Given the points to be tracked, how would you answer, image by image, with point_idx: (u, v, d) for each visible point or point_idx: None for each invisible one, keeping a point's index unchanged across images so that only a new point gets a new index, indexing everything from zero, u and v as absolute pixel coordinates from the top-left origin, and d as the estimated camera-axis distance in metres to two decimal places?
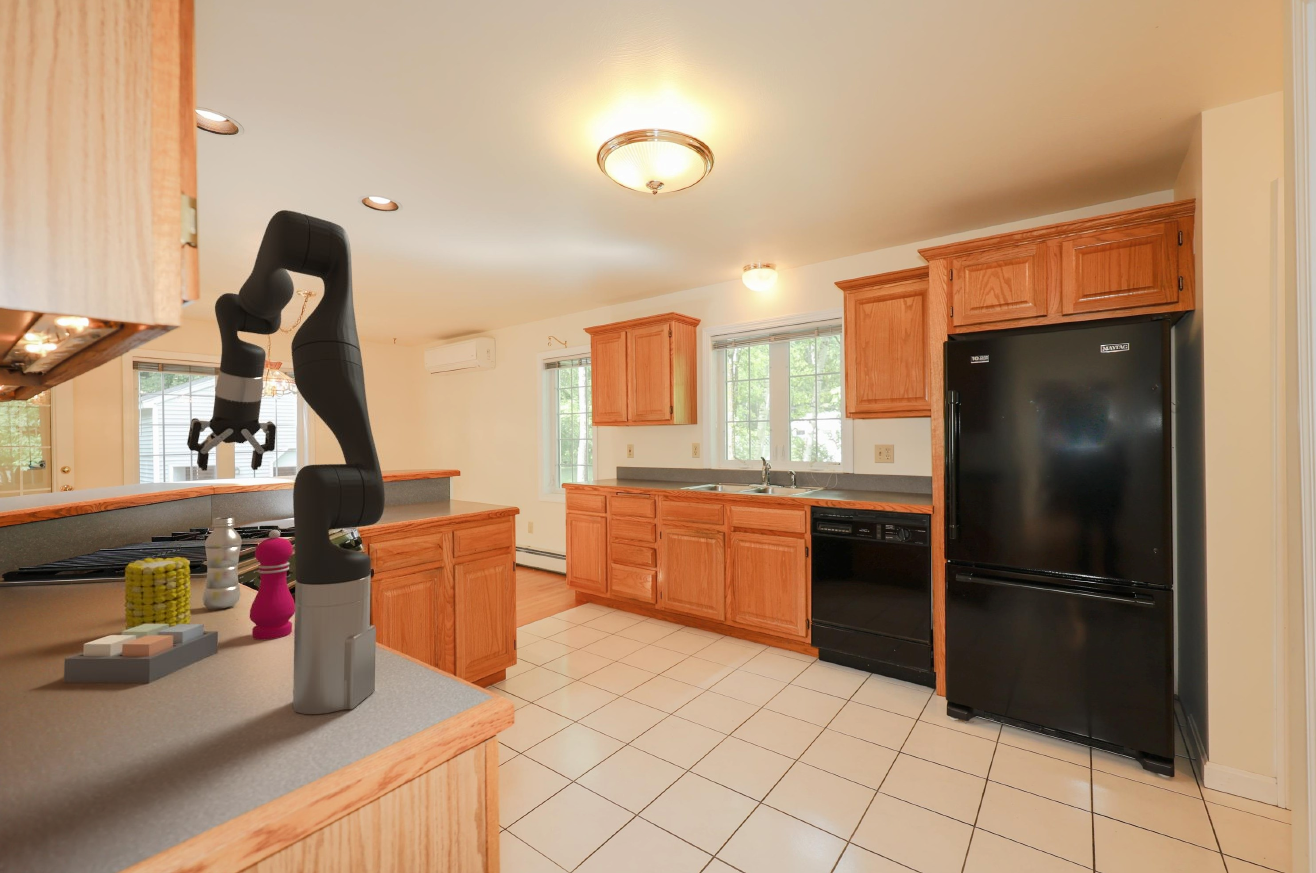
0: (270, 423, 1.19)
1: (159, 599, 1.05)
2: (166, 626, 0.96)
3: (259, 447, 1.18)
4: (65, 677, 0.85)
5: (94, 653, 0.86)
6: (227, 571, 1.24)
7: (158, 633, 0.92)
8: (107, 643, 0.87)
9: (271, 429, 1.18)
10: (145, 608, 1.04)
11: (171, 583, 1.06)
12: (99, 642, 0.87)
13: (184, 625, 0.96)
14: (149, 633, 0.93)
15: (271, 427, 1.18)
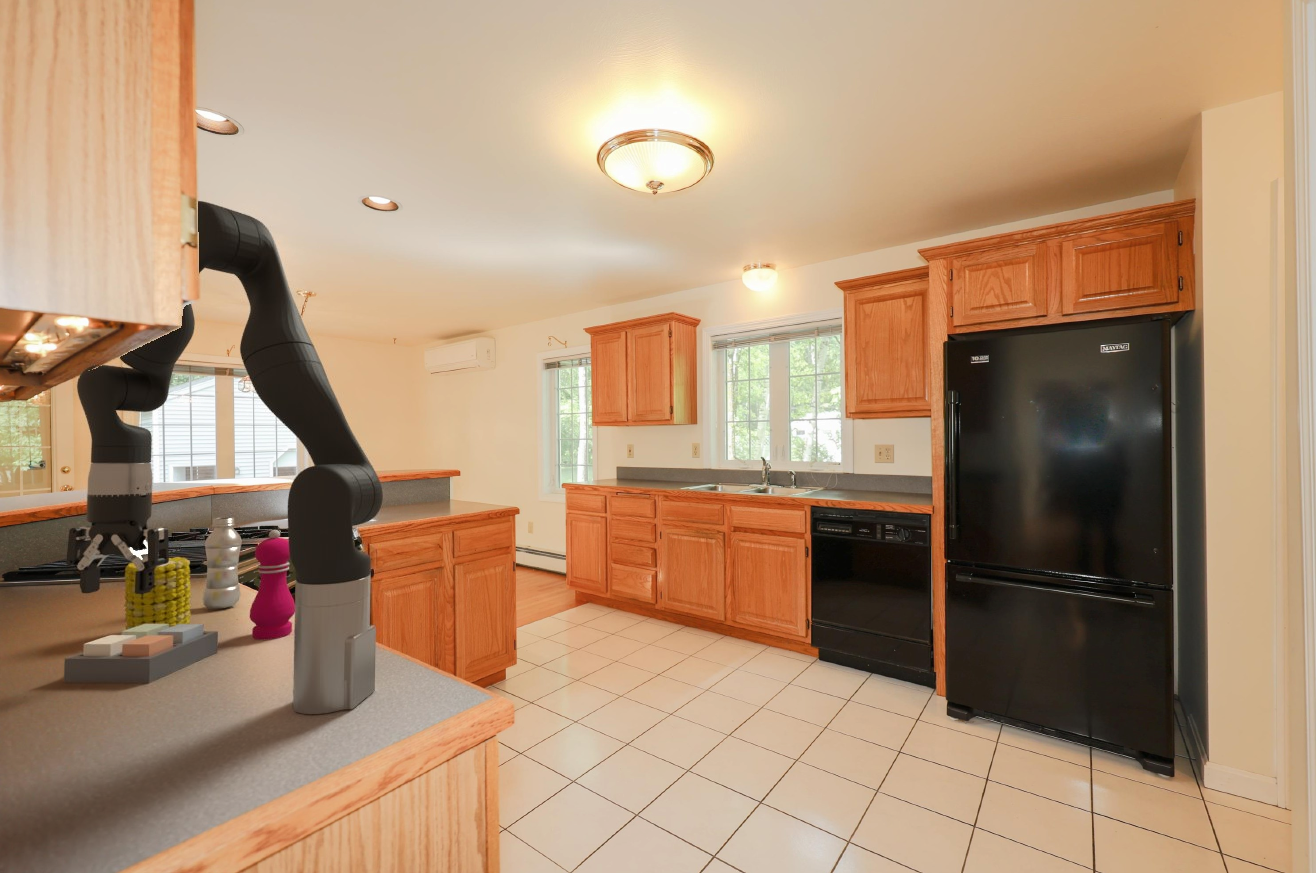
0: (155, 528, 0.90)
1: (159, 599, 1.05)
2: (166, 626, 0.96)
3: (138, 561, 0.88)
4: (65, 677, 0.85)
5: (94, 653, 0.86)
6: (227, 571, 1.24)
7: (158, 633, 0.92)
8: (107, 643, 0.87)
9: (149, 535, 0.88)
10: (145, 608, 1.04)
11: (171, 583, 1.06)
12: (99, 642, 0.87)
13: (184, 625, 0.96)
14: (149, 633, 0.93)
15: (149, 532, 0.88)
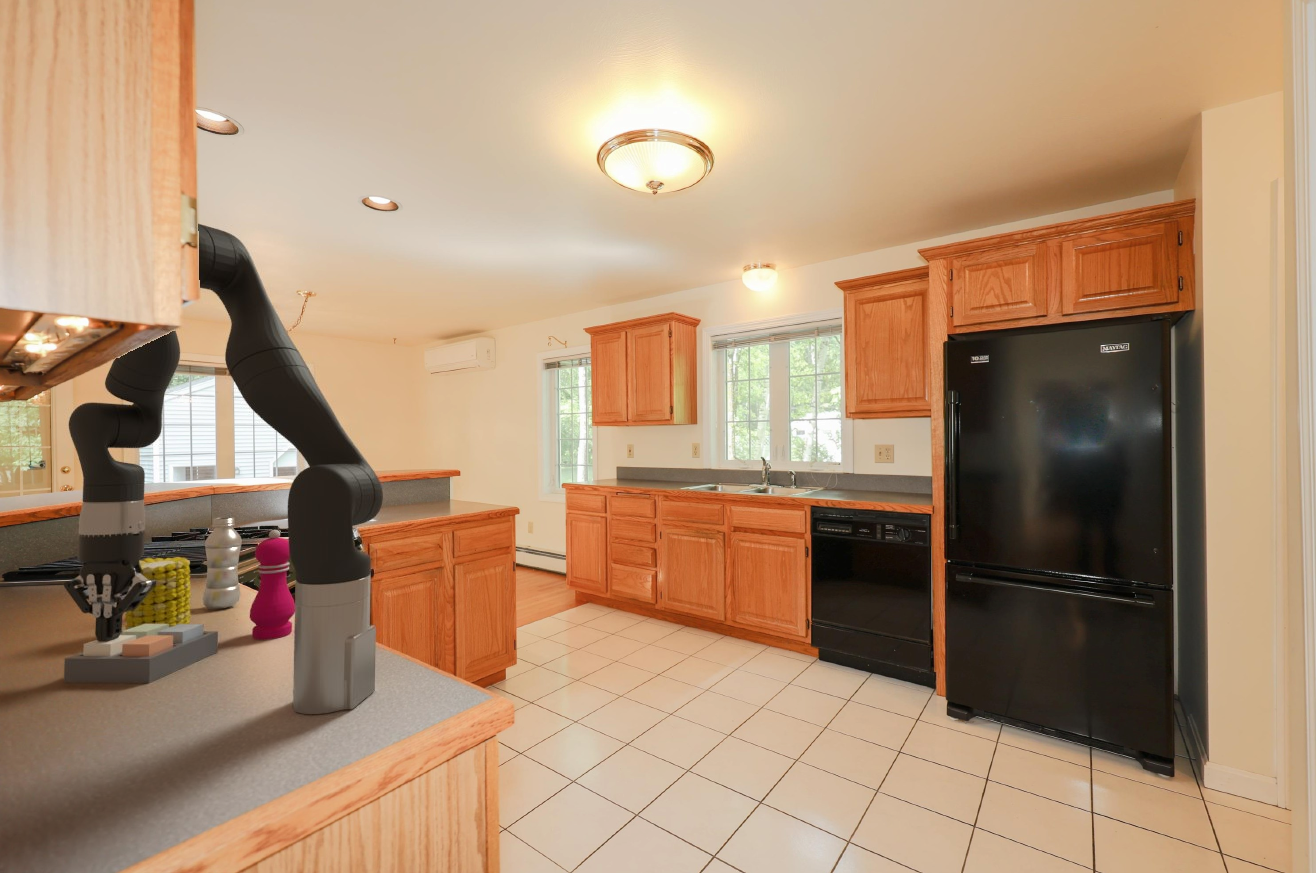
0: (146, 581, 0.88)
1: (159, 599, 1.05)
2: (166, 626, 0.96)
3: (109, 608, 0.87)
4: (65, 677, 0.85)
5: (94, 653, 0.86)
6: (227, 571, 1.24)
7: (158, 633, 0.92)
8: (107, 643, 0.87)
9: (135, 586, 0.87)
10: (145, 608, 1.04)
11: (171, 583, 1.06)
12: (99, 642, 0.87)
13: (184, 625, 0.96)
14: (149, 633, 0.93)
15: (137, 584, 0.87)
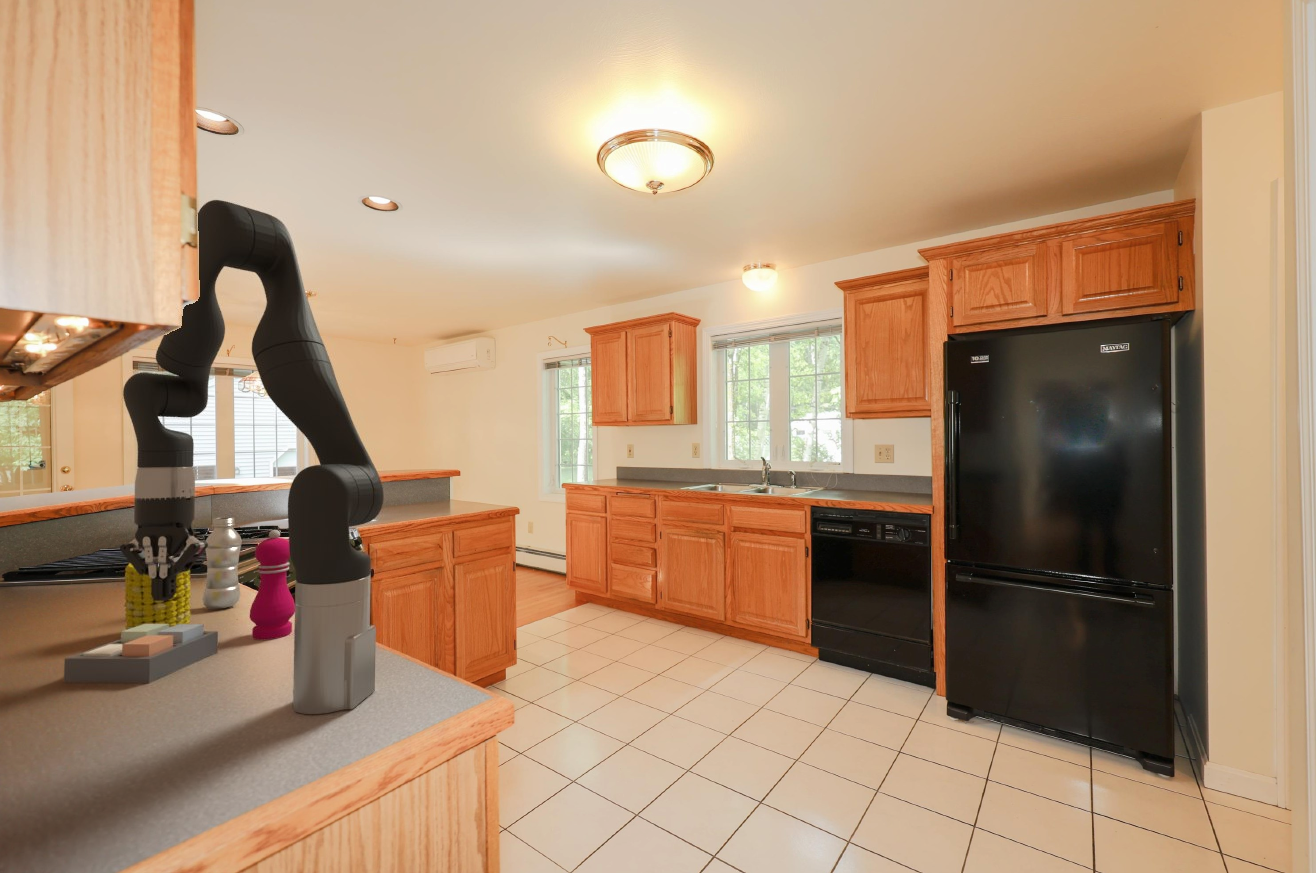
0: (199, 542, 0.93)
1: None
2: (166, 626, 0.96)
3: (165, 569, 0.91)
4: (65, 677, 0.85)
5: None
6: (227, 571, 1.24)
7: (158, 633, 0.92)
8: (107, 652, 0.87)
9: (190, 548, 0.92)
10: (145, 608, 1.04)
11: None
12: (99, 651, 0.87)
13: (184, 625, 0.96)
14: (149, 633, 0.93)
15: (191, 546, 0.92)
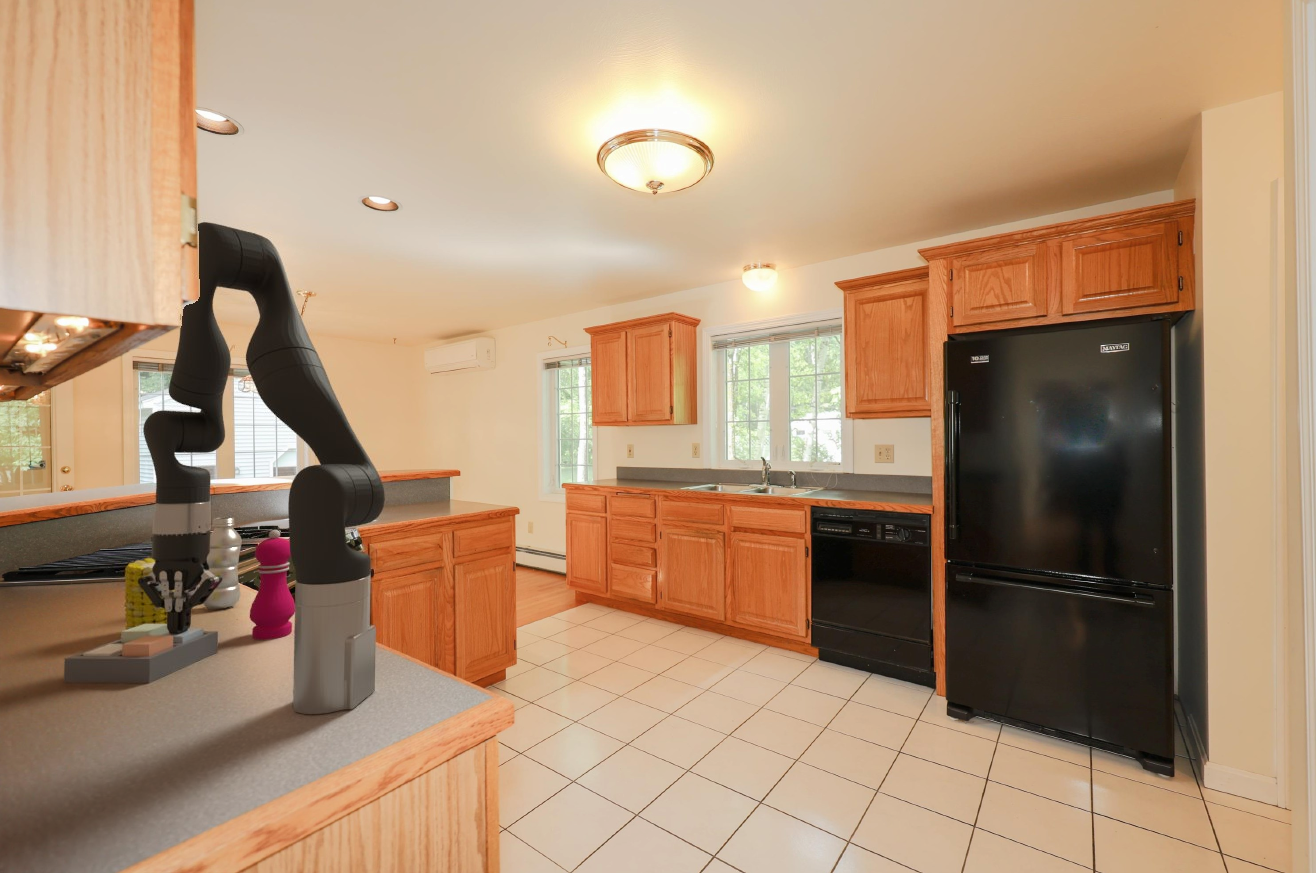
0: (214, 577, 0.94)
1: None
2: (166, 626, 0.96)
3: (180, 602, 0.93)
4: (65, 677, 0.85)
5: None
6: (227, 571, 1.24)
7: None
8: (107, 652, 0.87)
9: (205, 583, 0.93)
10: (145, 608, 1.04)
11: None
12: (99, 651, 0.87)
13: None
14: (149, 633, 0.93)
15: (206, 581, 0.93)
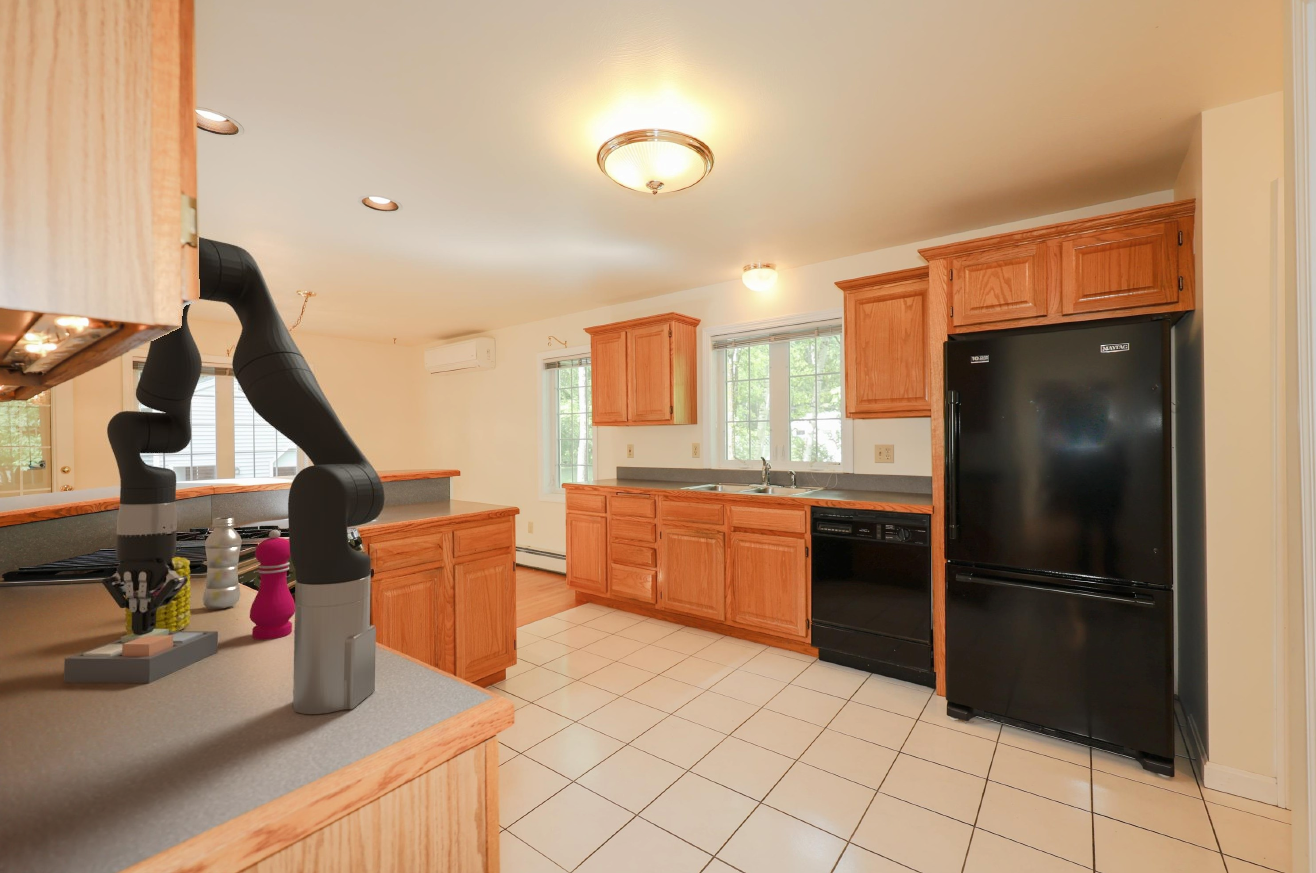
0: (178, 577, 0.94)
1: None
2: (166, 631, 0.96)
3: (145, 603, 0.93)
4: (65, 677, 0.85)
5: None
6: (227, 571, 1.24)
7: None
8: (107, 652, 0.87)
9: (169, 583, 0.93)
10: None
11: None
12: (99, 651, 0.87)
13: (184, 634, 0.96)
14: None
15: (170, 581, 0.93)
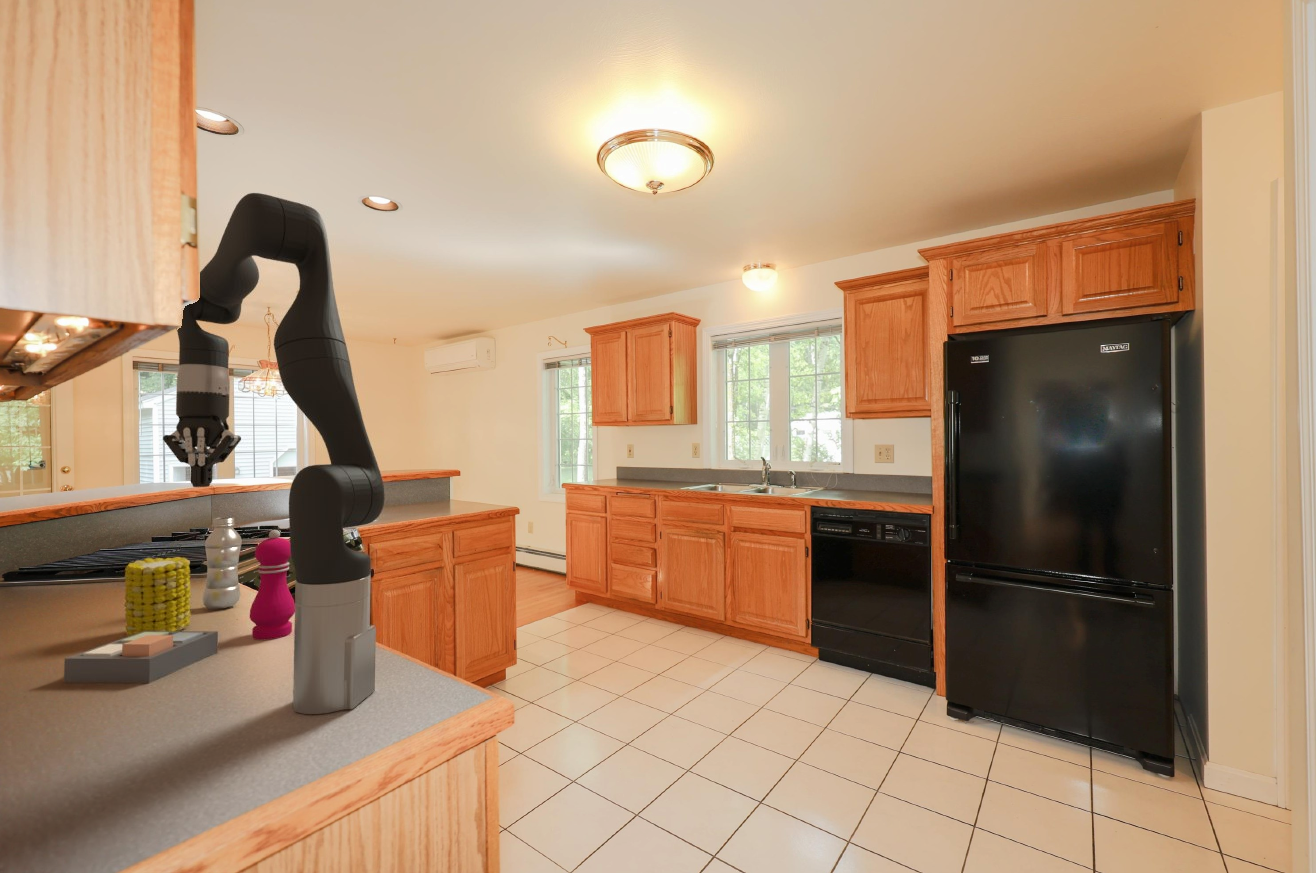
0: (233, 435, 1.02)
1: (159, 599, 1.05)
2: (166, 634, 0.96)
3: (202, 457, 1.01)
4: (65, 677, 0.85)
5: None
6: (227, 571, 1.24)
7: None
8: (107, 652, 0.87)
9: (225, 439, 1.01)
10: (145, 608, 1.04)
11: (171, 583, 1.06)
12: (99, 651, 0.87)
13: (184, 634, 0.96)
14: None
15: (226, 437, 1.01)
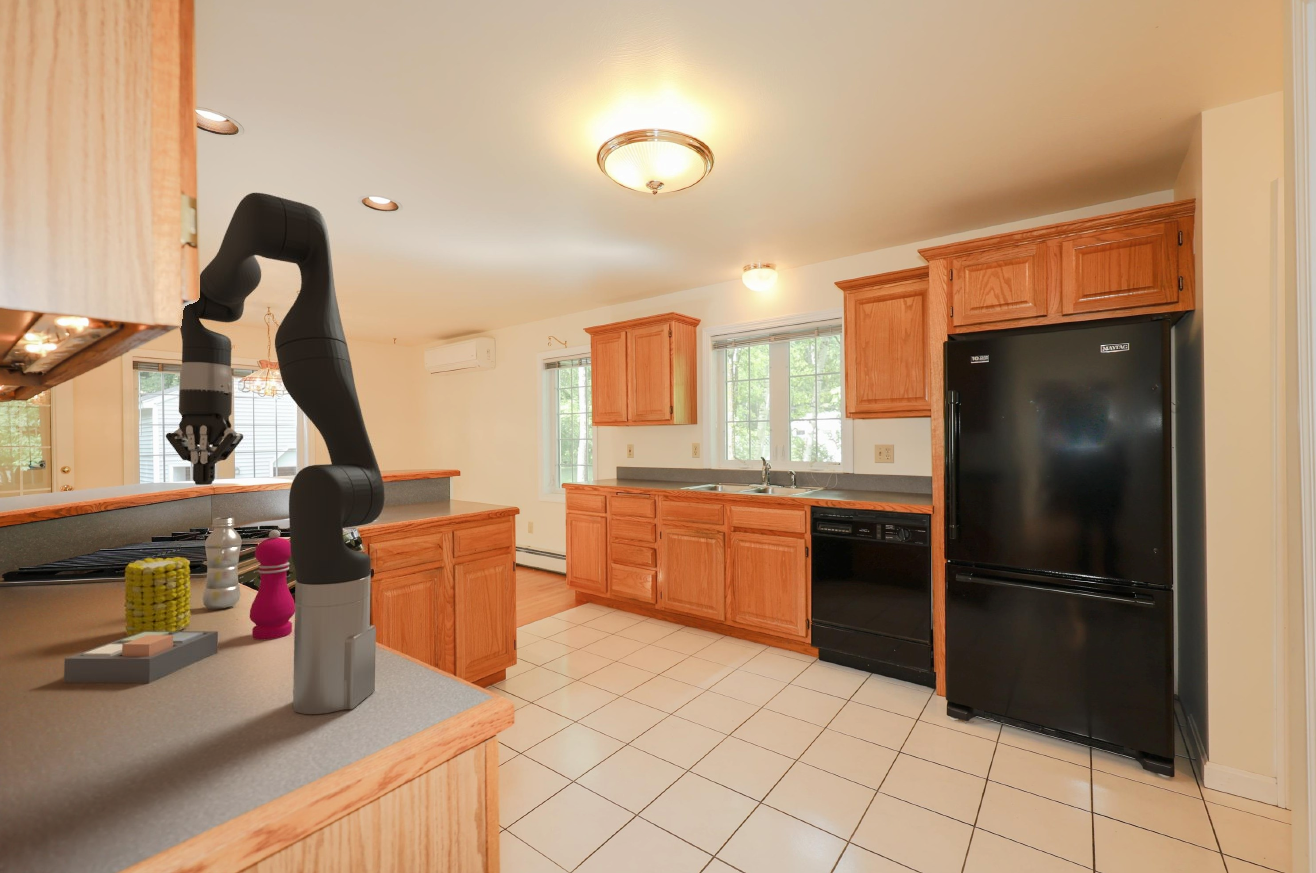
0: (235, 433, 1.02)
1: (159, 599, 1.05)
2: (166, 634, 0.96)
3: (205, 455, 1.01)
4: (65, 677, 0.85)
5: None
6: (227, 571, 1.24)
7: None
8: (107, 652, 0.87)
9: (227, 437, 1.01)
10: (145, 608, 1.04)
11: (171, 583, 1.06)
12: (99, 651, 0.87)
13: (184, 634, 0.96)
14: None
15: (229, 435, 1.01)
